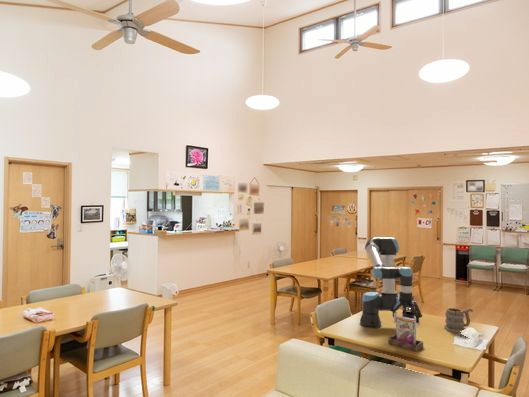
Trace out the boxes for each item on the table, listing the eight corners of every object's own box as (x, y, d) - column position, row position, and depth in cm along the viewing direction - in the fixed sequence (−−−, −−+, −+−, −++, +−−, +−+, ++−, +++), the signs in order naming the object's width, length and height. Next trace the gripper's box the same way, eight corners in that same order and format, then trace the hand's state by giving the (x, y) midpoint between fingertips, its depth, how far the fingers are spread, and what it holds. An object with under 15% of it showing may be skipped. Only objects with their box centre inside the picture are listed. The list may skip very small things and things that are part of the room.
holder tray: (388, 343, 244) (388, 338, 244) (395, 339, 251) (395, 334, 251) (416, 351, 231) (416, 346, 231) (423, 347, 238) (423, 341, 238)
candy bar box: (395, 343, 243) (395, 317, 243) (398, 340, 246) (398, 315, 247) (413, 347, 235) (413, 320, 236) (416, 345, 239) (416, 318, 239)
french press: (398, 316, 302) (399, 287, 303) (405, 314, 308) (405, 286, 308) (412, 320, 293) (412, 290, 293) (419, 318, 299) (419, 288, 299)
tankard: (450, 332, 266) (450, 311, 266) (441, 326, 279) (441, 306, 279) (478, 332, 267) (478, 311, 267) (468, 326, 279) (468, 306, 280)
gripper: (384, 289, 248) (384, 321, 248) (423, 296, 230) (422, 331, 230) (390, 287, 253) (389, 319, 253) (428, 294, 235) (427, 328, 235)
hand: (405, 325), depth 241 cm, fingers open, 13 cm apart
